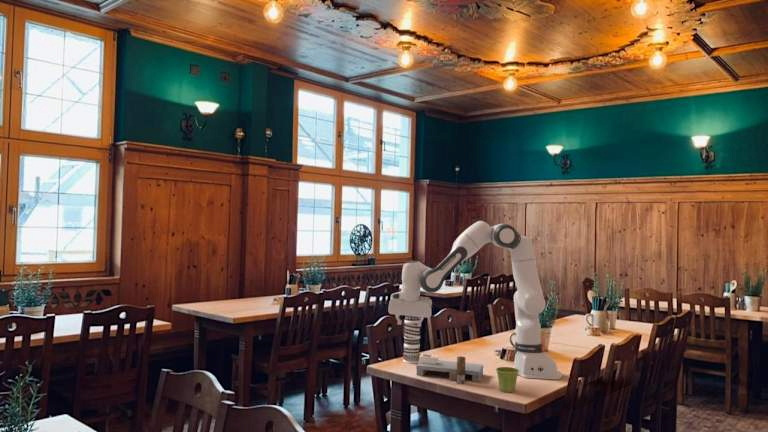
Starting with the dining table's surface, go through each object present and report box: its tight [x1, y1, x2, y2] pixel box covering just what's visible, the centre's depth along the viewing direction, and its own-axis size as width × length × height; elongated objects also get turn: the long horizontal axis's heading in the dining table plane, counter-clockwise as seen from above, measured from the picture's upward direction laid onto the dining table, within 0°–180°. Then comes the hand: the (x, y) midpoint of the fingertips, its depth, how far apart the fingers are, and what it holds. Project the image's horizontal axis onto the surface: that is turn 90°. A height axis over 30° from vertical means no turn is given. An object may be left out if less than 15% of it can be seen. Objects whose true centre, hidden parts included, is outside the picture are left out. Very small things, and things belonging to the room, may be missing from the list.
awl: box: [456, 355, 466, 385], centre depth 246 cm, size 4×4×11 cm
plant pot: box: [495, 366, 519, 394], centre depth 236 cm, size 9×9×9 cm
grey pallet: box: [415, 359, 484, 382], centre depth 259 cm, size 28×18×4 cm, turn 72°
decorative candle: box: [402, 315, 422, 364], centre depth 284 cm, size 9×9×25 cm
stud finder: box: [419, 353, 439, 364], centre depth 262 cm, size 8×4×3 cm, turn 72°
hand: (409, 325), depth 266 cm, fingers open, 8 cm apart
